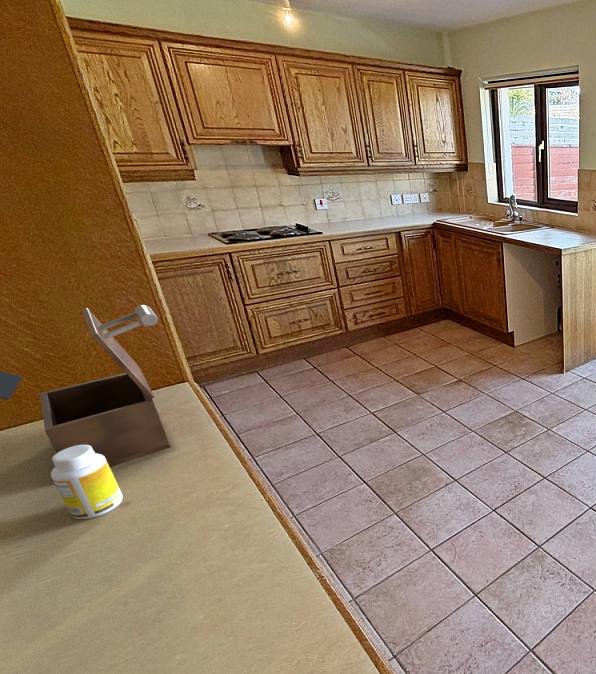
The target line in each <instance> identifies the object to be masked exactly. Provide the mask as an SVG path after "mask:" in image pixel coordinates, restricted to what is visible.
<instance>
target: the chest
mask: <svg viewBox="0 0 596 674" xmlns="http://www.w3.org/2000/svg"><path fill="white" fill-rule="evenodd" d="M39 397H40V403H41V411H42V418H43V419H42V420H43V425H44V426H43V427H44V431H45V434H46V436H47V438H48V440H49V441H50V444H51V445H52V448H53V450H54V452H55V454H57V453H58V452H60V451H62V450H64V449H67V448H70V447H73V446H77V445H89V446H91V447H92V449H93V451H94V452H95V454H101V455H103V456H104V457H105V459H106V461H107V463H108V465H109V467H110V468H113V467H116V466H119V465H122V464H124V463H127V462H130V461H134V460H137V459H140V458H142V457H146V456H149V455H151V454H154V453H158V452H161V451H164V450H167V449H170V448H172V447H171V446H172V445H171V443H170V441H169V439H168V436H167V433H166V430H165V427H164V425H163V422H162V420H161V418H160V414H159V412H158V409H157V407H156V403H155V402H154V398H152V399H149V398H148V397H147V396H146V395H145V394H144V393H143V391H142V390H141V389H140V388H139V387H138V386H137V385H136V384H135V383H134V382H133V380H132V379H131V378H130V377H129V376H128V375H127V374H126V373H125V372H124V373H119V374H115V375H112V376H107V377H103V378H98V379H94V380H90V381H86V382H85V381H84V382H82V383H77V384H72V385H68V386H65V387H61V388H55V389H52V390H48V391H47V390H46V391H43V392H40V394H39Z"/></svg>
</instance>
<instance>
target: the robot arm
mask: <svg viewBox="0 0 596 674" xmlns="http://www.w3.org/2000/svg"><path fill="white" fill-rule="evenodd" d="M22 378H23V376H20V375H17V374H13V373H9V372H6V371H1V370H0V399H2V400H10V399H11V398H12V396H13V394H14V392H15V391H16V389H17V387H18V386H19V384H20V382H21V380H22Z"/></svg>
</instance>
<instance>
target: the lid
mask: <svg viewBox="0 0 596 674" xmlns="http://www.w3.org/2000/svg"><path fill="white" fill-rule="evenodd" d="M82 313H83V315H84V319H85V321H86V323H87V326H88V329H89V331H90V334H91V336H92V338H93V339H94V340H95V341H96V342H97V344H98V345H100V346H101V348H102V349H103V350H104V351H105V352H106V354H108V356H109V357H111V358H112V360H113V361H114V362H115V363H116V364H117V365H118V366H119V367H120V369H122V371H123V372H124V373H126V374H127V375H128V376H129V377H130V378H131V379H132V380H133V382H134V383H135V384H136V385H137V386H138V387H139V388H140V389H141V390H142V391H143V393H144V394H145V395H146V396H147V397H148V398H149V399H154V398H155V395H154V393H153V391H152V389H151V387H150V385H149V384H148V381H147V379H146V378H145V375H144V373H143V371H142V369H141V368H140V366H139V365H138V364H137V363H136V362H135V360H134V359H133V358H132V357H131V356H130V355H129V353H128V352H127V351H126V350H125V349H124V348H123V347H122V346H121V344H120V343H119V342H118V341H117V339H115V337H114V336H117V335H120V334H123V333H124V332H127V331H130V330H133V329H134V328H137V327H140V326H142V325H144V326H147V327H151V326H155V325H156V324H157V323H158V321H159V317H157V315H156V313H155V312H154V311H153V309H152V308H151V306H149V305H147V304H140V305H138V306H136V307H135V309H134V311H133V312H131V313H129V314H126V315H124V316H121V317H119V318H116V319H113V320H111V321H108V322H105V323H103V324H102V323H101V321H100V320H98V318H97V317H96V316H95V315H94V314H93V313H92V311H91V310H90V309H89V308H88V307H86V308H83V309H82ZM135 318H138V319H139V320H136V321H134V322H130V323H129V324H126V325H123V326H121V327H119V328H116V329H113V330H111V331H109V330H107V329H109V328H112V327H114V326H117V325H119V324H123V323H125V322H127V321H130V320H133V319H135Z"/></svg>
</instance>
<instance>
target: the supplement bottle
mask: <svg viewBox="0 0 596 674" xmlns="http://www.w3.org/2000/svg"><path fill="white" fill-rule="evenodd" d="M51 461H52V463H53V466H54V468H53V469H52V470H51V472H50V479H51V480H52V482H53V483H54V485H55V487H56V489H57V491H58V493H59V495H60V496H61V499H62V500H63V502H64V504H65V506H66V508H67V510H68V511H69V514H70V515H71V517H73V518H74V519H76V520H88V519H94V518H98V517H100V516H102V515H105V514H107V513H109V512H111V511H112V510H114V509H115V508H116V507H118V506H119V505H120V504H121V502H123V493H122V490H121V489H120V487H119V485H118V482H117V480H116V478H115V476H114V473H113V472H112V468H111V467H109V465H108V463H107V461H106V459H105V457H104V456H103V455H101V454H95V452H94V451H93V449H92V447H91V446H89V445H77V446H73V447H70V448H67V449H64V450H62V451H60V452H58V453H55V454H54V455H53V456H52V458H51Z"/></svg>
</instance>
